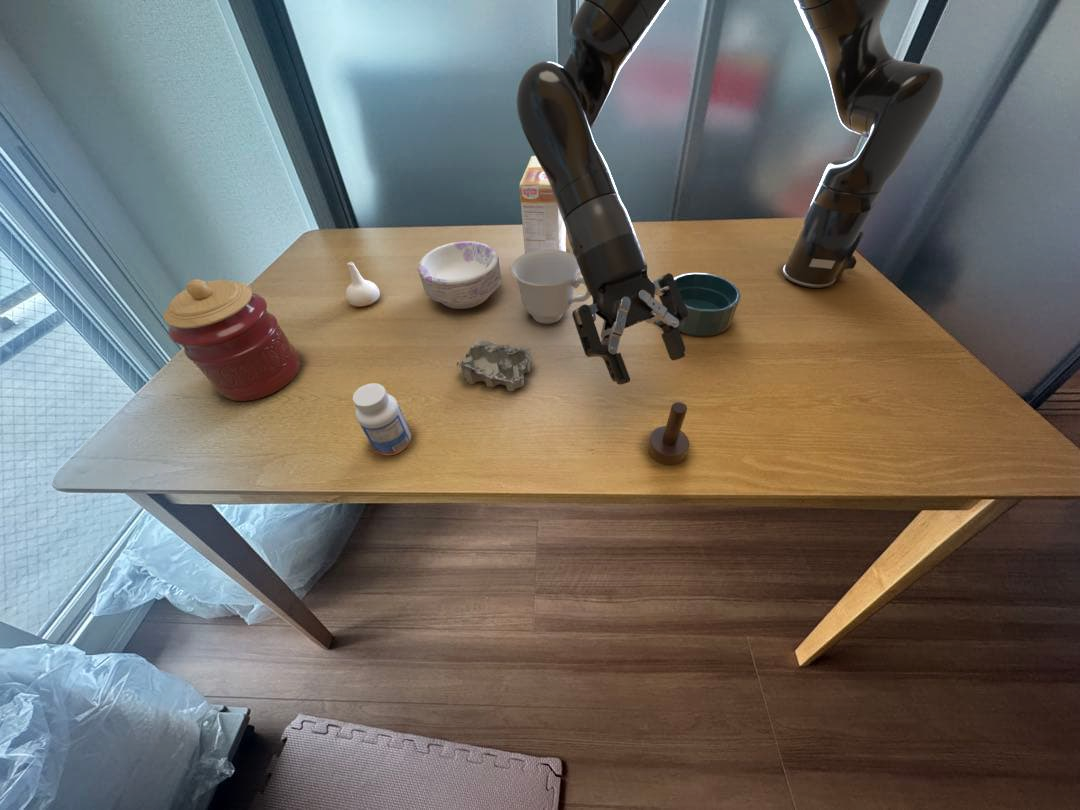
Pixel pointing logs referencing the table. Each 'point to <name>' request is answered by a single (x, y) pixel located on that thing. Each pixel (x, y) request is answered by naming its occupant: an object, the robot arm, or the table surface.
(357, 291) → the garlic bulb
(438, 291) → the paper bowls
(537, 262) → the teacup
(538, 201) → the coffeecake box
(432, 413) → the table surface
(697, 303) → the bowl
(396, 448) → the pill bottle
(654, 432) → the coffee tamper
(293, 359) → the kitchen canister
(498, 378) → the egg carton
